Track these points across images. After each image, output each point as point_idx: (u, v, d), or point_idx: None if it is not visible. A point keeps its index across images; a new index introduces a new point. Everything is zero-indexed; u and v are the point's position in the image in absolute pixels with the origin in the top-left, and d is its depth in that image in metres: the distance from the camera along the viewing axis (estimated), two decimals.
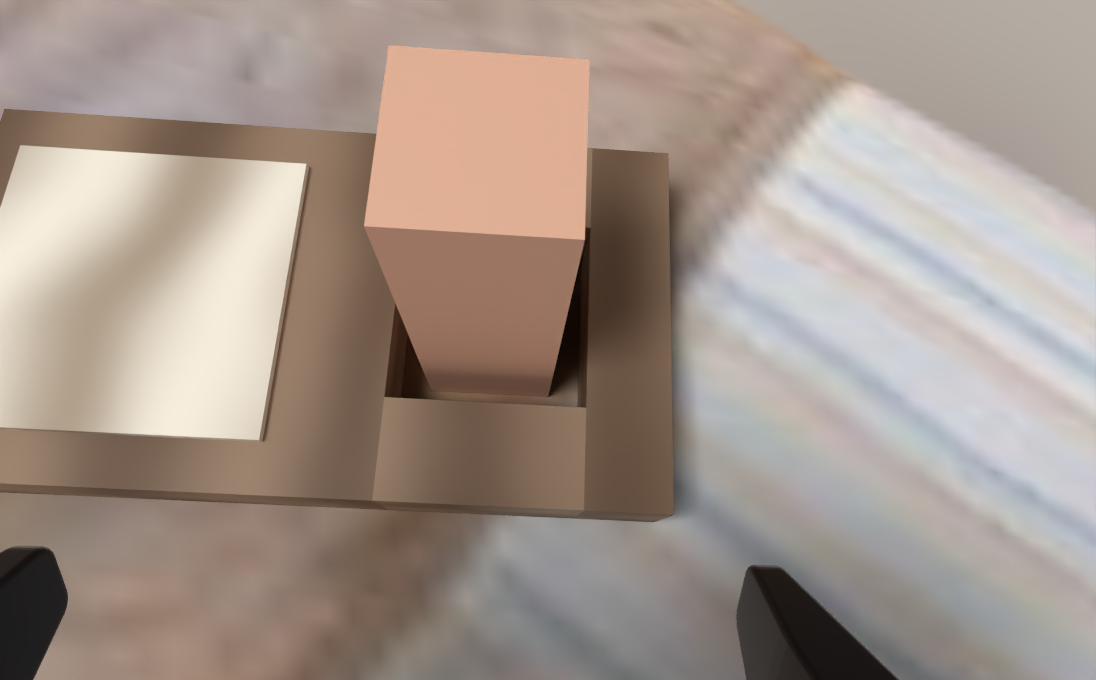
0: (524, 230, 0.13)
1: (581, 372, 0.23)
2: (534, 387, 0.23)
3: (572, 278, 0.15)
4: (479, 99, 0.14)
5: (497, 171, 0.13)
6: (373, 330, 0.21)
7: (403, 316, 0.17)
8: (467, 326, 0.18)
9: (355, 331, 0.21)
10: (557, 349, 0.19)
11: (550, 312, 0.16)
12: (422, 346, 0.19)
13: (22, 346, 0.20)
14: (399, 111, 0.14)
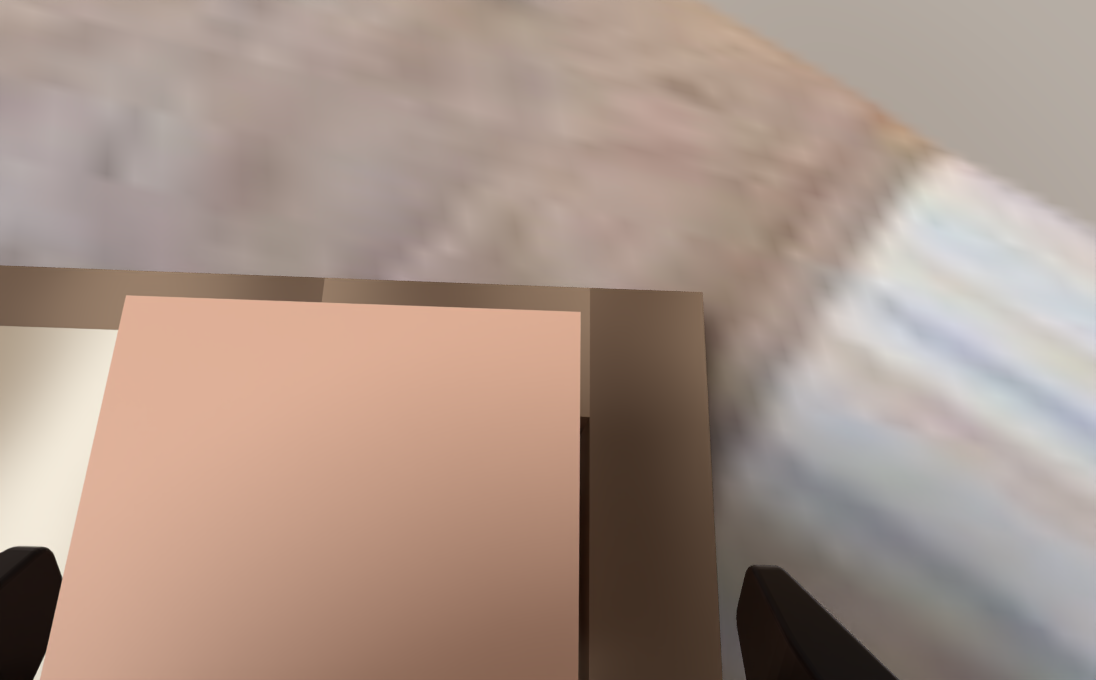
0: None
1: (580, 629, 0.16)
2: None
3: None
4: (326, 428, 0.06)
5: (362, 631, 0.05)
6: None
7: None
8: None
9: None
10: None
11: None
12: None
13: None
14: (133, 473, 0.06)
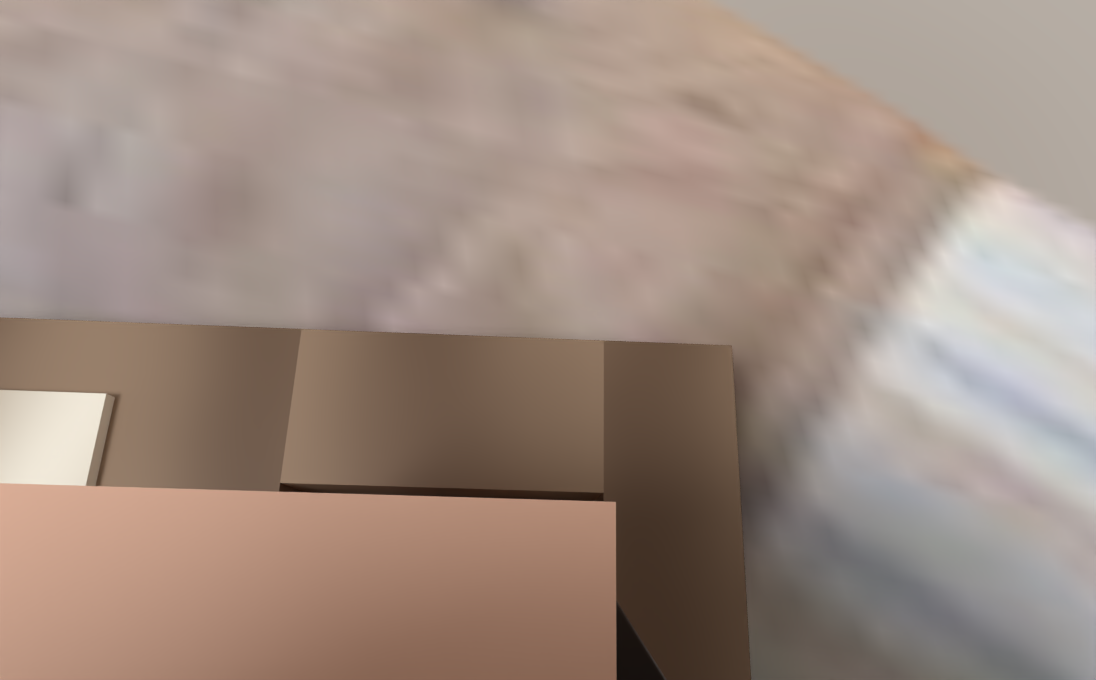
0: None
1: None
2: None
3: None
4: None
5: None
6: None
7: None
8: None
9: None
10: None
11: None
12: None
13: None
14: None
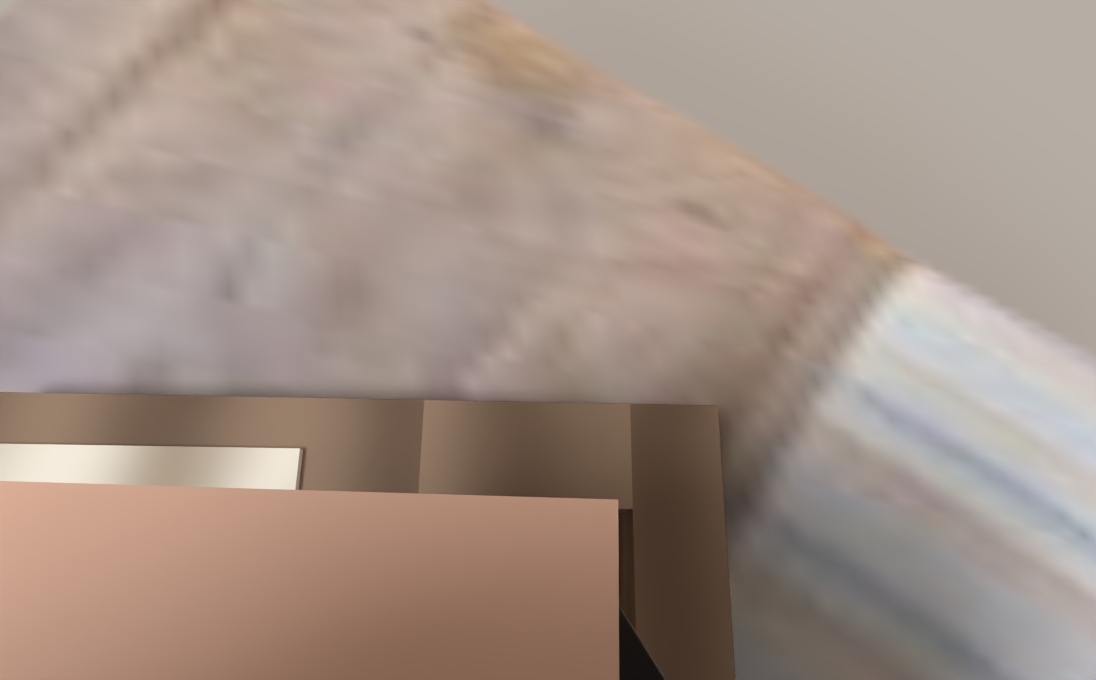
0: None
1: None
2: None
3: None
4: None
5: None
6: None
7: None
8: None
9: None
10: None
11: None
12: None
13: None
14: None
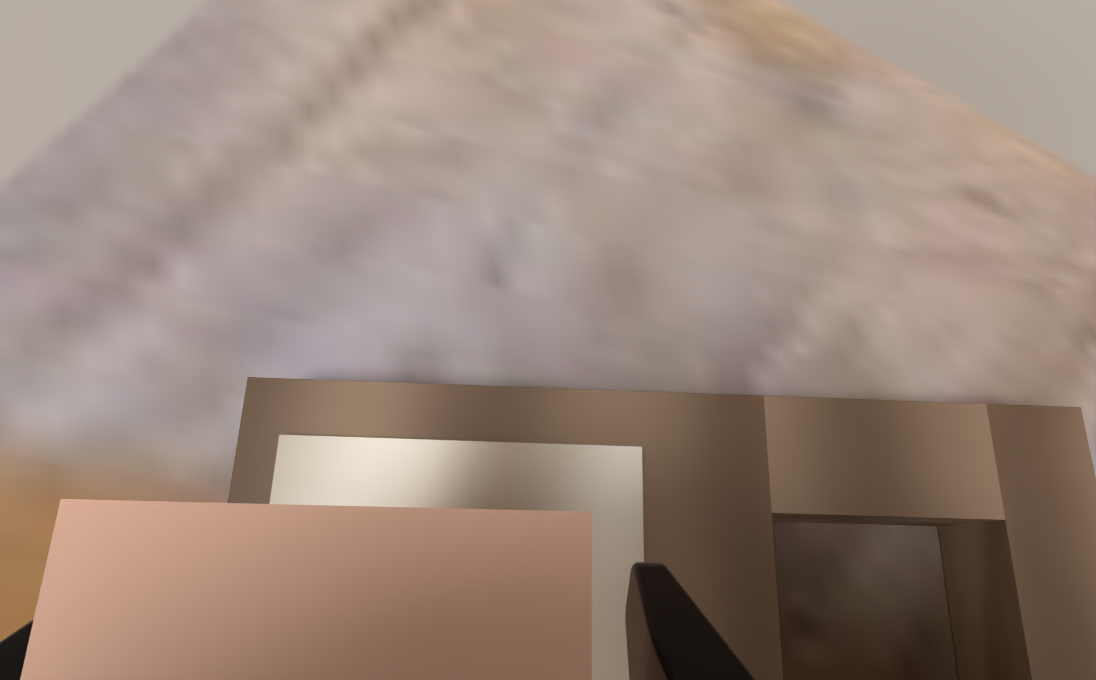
0: None
1: None
2: None
3: None
4: (294, 666, 0.05)
5: None
6: None
7: None
8: None
9: None
10: None
11: None
12: None
13: None
14: None
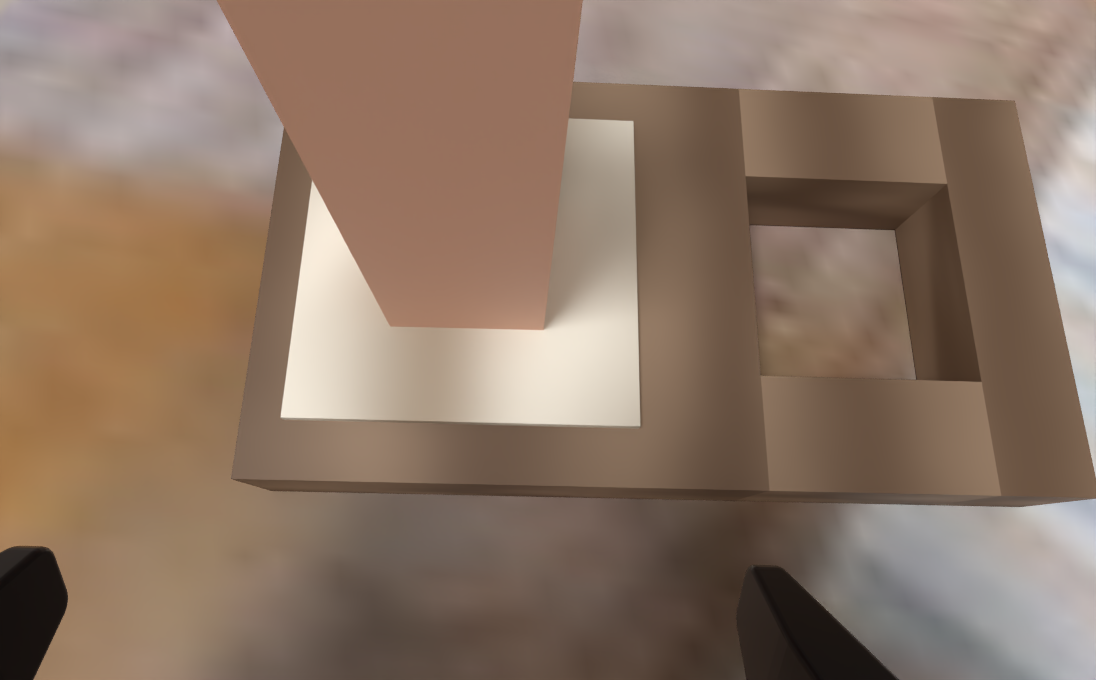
0: None
1: (933, 344, 0.21)
2: (524, 314, 0.17)
3: (568, 72, 0.09)
4: None
5: None
6: (734, 302, 0.19)
7: (317, 182, 0.11)
8: (415, 200, 0.12)
9: (715, 303, 0.19)
10: (551, 241, 0.13)
11: (537, 159, 0.11)
12: (360, 244, 0.14)
13: (364, 329, 0.18)
14: None
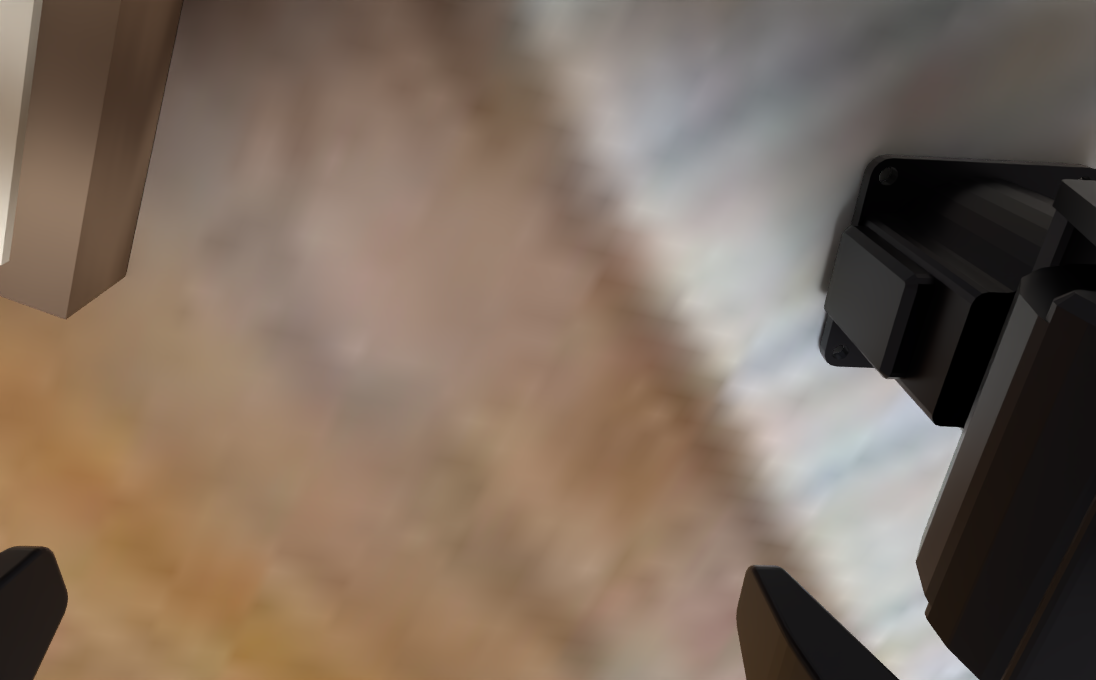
0: None
1: None
2: None
3: None
4: None
5: None
6: None
7: None
8: None
9: None
10: None
11: None
12: None
13: None
14: None
